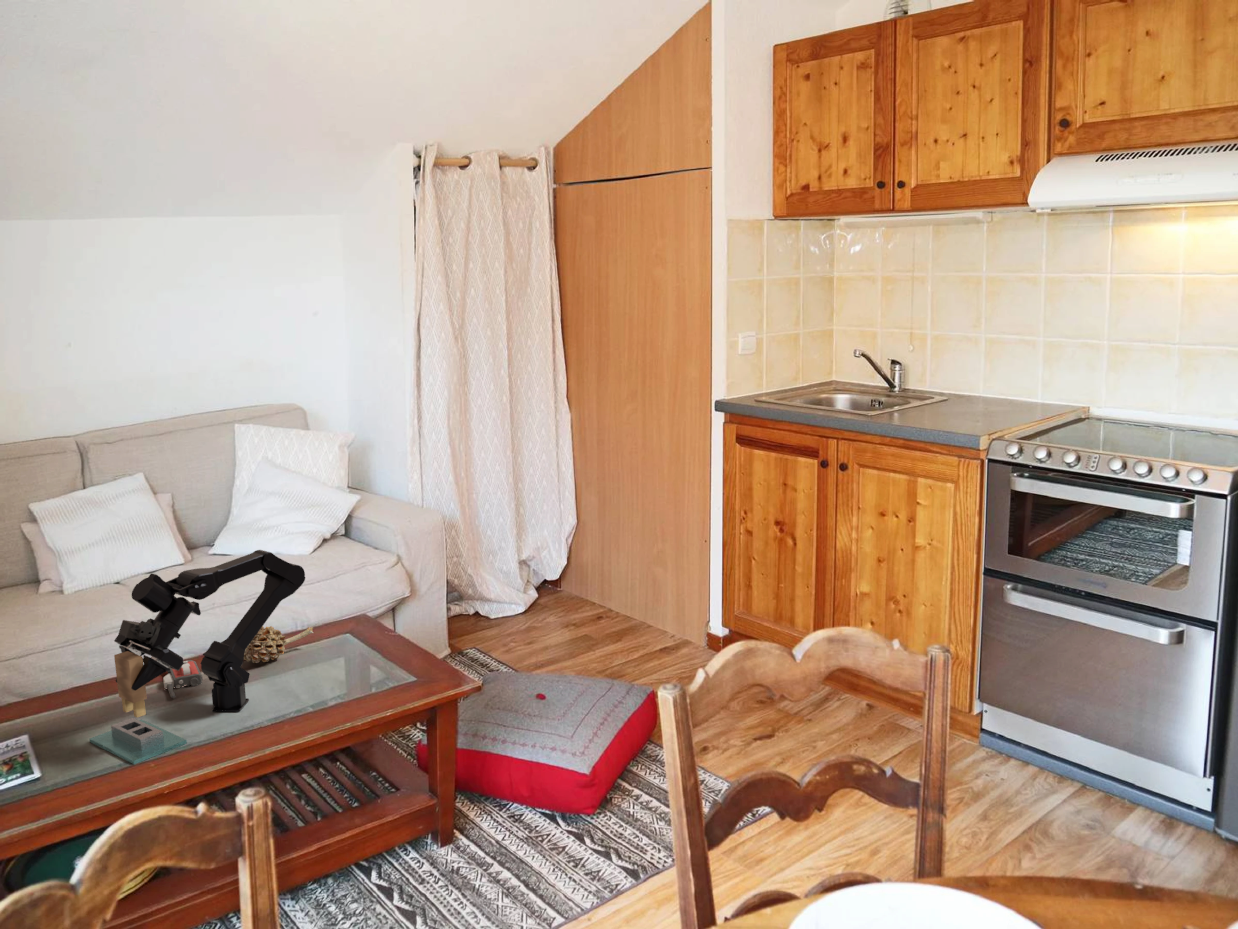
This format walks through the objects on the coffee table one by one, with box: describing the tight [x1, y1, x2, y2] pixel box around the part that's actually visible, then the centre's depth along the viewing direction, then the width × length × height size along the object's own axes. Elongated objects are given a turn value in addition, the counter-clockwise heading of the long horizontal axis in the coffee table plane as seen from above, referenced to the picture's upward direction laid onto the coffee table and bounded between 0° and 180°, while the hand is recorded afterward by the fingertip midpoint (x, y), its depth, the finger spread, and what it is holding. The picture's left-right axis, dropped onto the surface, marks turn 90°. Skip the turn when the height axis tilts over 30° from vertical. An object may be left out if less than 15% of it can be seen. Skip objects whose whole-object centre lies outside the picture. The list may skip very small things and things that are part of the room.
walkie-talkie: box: [163, 659, 203, 699], centre depth 265 cm, size 9×4×20 cm
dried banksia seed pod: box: [243, 625, 314, 664], centre depth 281 cm, size 22×10×10 cm, turn 140°
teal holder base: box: [89, 717, 188, 765], centre depth 233 cm, size 18×12×3 cm, turn 53°
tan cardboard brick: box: [113, 651, 148, 718], centre depth 231 cm, size 6×3×13 cm, turn 53°
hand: (125, 686), depth 229 cm, fingers closed on tan cardboard brick, 6 cm apart
